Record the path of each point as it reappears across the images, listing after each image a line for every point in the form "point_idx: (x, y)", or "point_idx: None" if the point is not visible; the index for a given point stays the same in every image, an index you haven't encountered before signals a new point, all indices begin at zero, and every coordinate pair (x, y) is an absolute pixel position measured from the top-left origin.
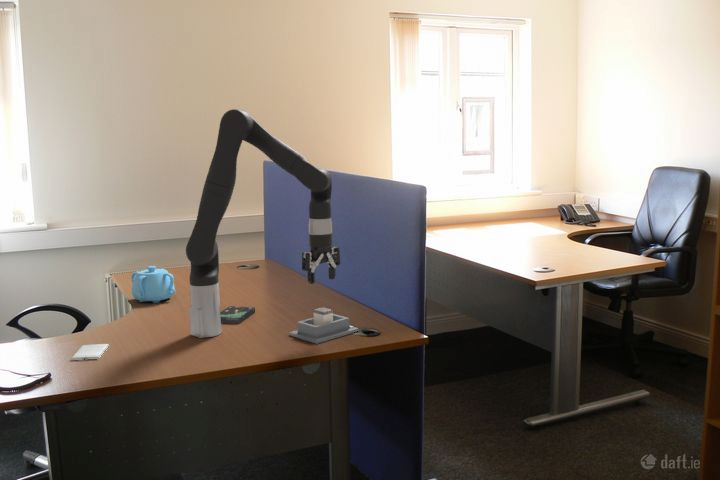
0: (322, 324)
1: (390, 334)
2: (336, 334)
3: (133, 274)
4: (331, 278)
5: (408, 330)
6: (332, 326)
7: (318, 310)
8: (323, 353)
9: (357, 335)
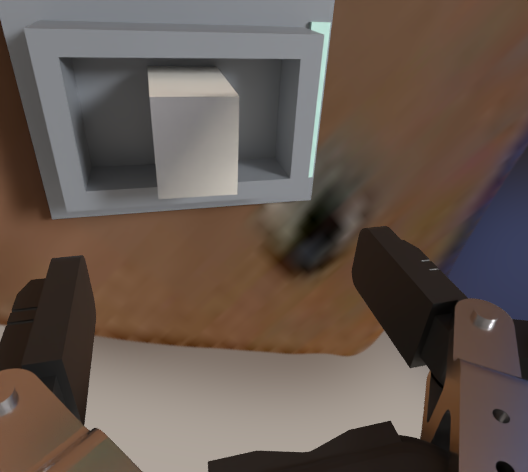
0: (129, 193)
1: (339, 289)
2: (184, 204)
3: None
4: (358, 263)
5: None
6: None
7: (160, 145)
8: None
9: (262, 230)
